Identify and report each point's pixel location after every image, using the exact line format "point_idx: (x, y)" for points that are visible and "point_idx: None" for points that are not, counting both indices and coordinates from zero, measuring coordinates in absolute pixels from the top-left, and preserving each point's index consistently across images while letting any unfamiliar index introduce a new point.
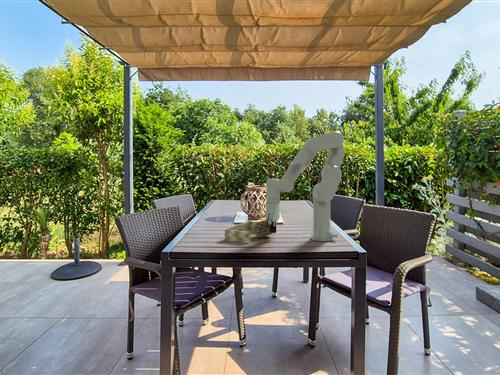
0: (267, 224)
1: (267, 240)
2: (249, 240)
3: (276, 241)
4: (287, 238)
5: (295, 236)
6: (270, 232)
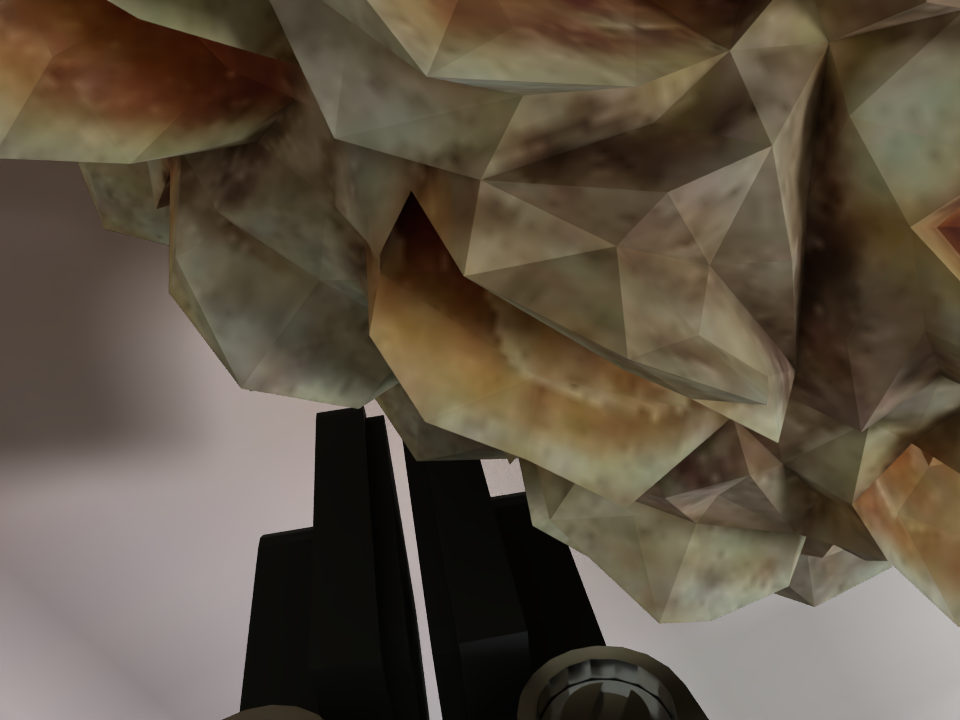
0: (455, 398)
1: (80, 306)
2: None
3: (181, 596)
4: (671, 646)
5: (954, 685)
6: (320, 426)
